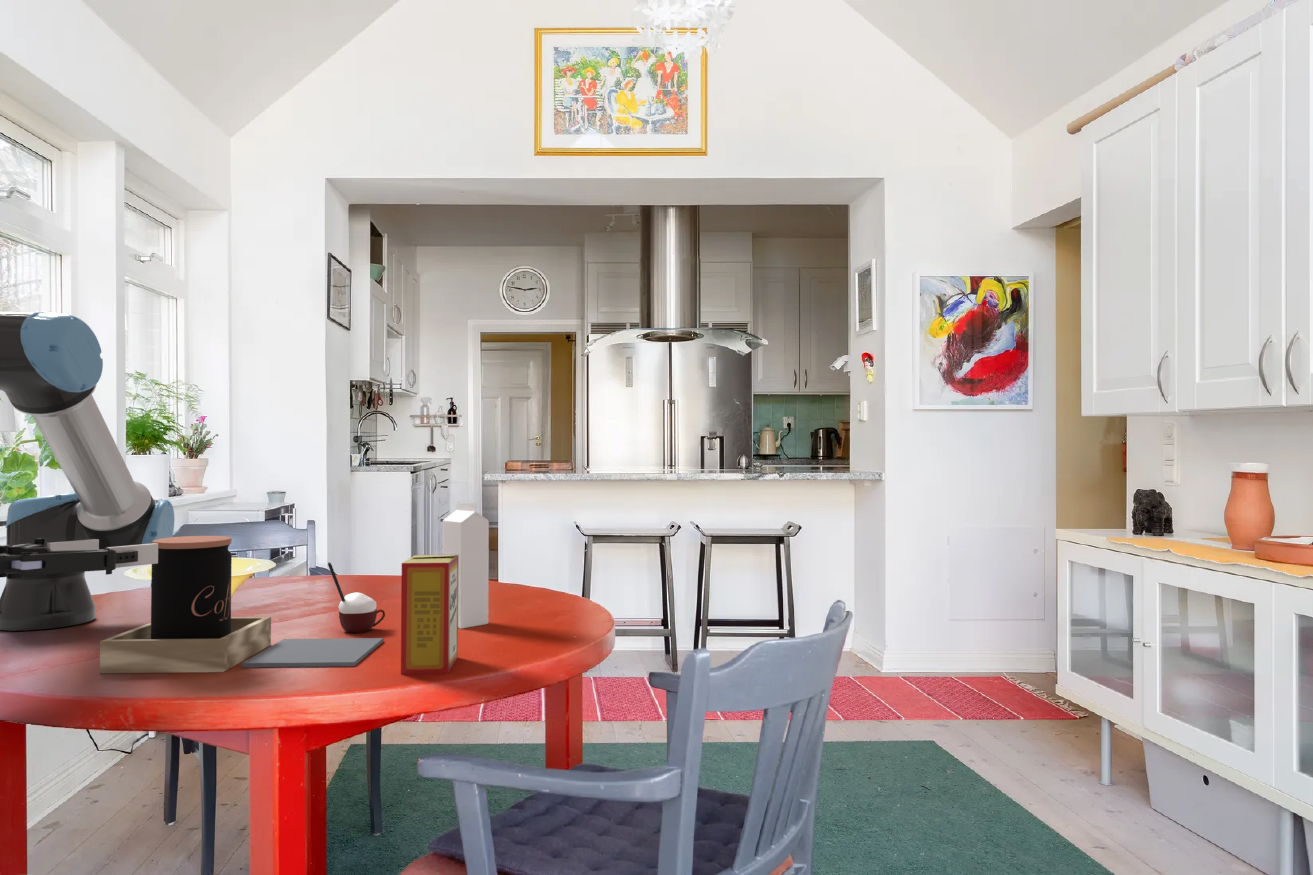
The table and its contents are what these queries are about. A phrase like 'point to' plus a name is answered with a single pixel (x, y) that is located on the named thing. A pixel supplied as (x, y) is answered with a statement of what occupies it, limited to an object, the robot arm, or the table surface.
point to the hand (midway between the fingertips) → (126, 550)
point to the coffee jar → (191, 588)
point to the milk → (469, 561)
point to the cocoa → (356, 610)
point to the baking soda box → (429, 614)
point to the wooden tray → (184, 649)
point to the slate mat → (314, 652)
